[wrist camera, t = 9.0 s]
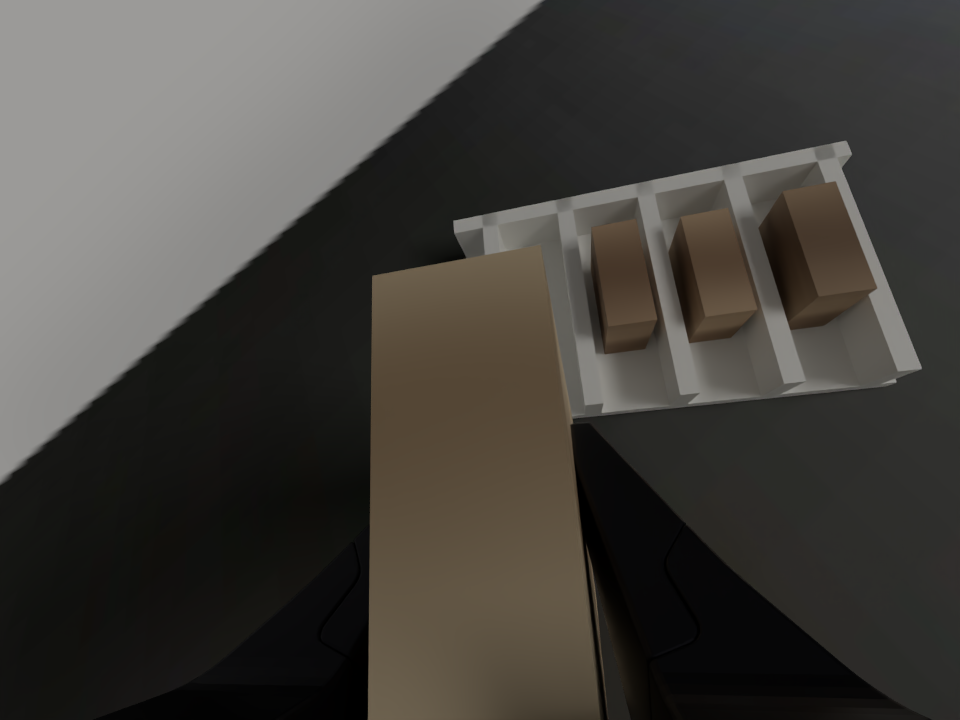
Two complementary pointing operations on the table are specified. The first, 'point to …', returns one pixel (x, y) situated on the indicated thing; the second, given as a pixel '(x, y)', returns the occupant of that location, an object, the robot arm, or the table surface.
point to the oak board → (476, 502)
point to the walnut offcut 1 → (621, 287)
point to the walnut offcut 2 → (710, 276)
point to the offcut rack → (668, 355)
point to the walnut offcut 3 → (815, 255)
